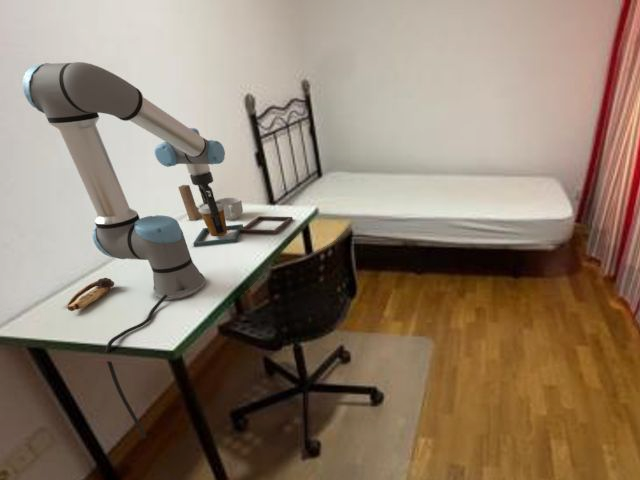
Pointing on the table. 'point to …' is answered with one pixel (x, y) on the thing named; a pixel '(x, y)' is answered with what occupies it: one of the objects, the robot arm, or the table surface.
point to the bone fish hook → (90, 294)
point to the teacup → (232, 207)
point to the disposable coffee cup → (208, 221)
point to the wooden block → (189, 202)
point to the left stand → (220, 241)
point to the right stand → (267, 218)
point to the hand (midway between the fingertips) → (217, 229)
